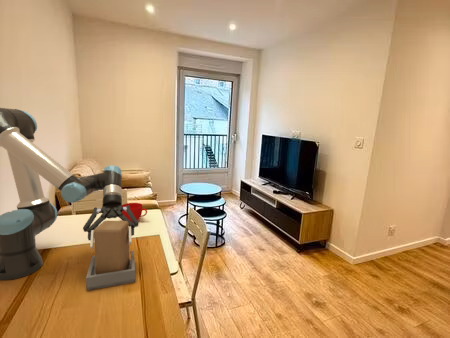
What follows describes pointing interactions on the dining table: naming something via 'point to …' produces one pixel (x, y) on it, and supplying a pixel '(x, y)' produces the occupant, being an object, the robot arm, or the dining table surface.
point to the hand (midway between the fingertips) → (111, 245)
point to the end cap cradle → (109, 276)
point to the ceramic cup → (134, 210)
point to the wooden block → (111, 246)
